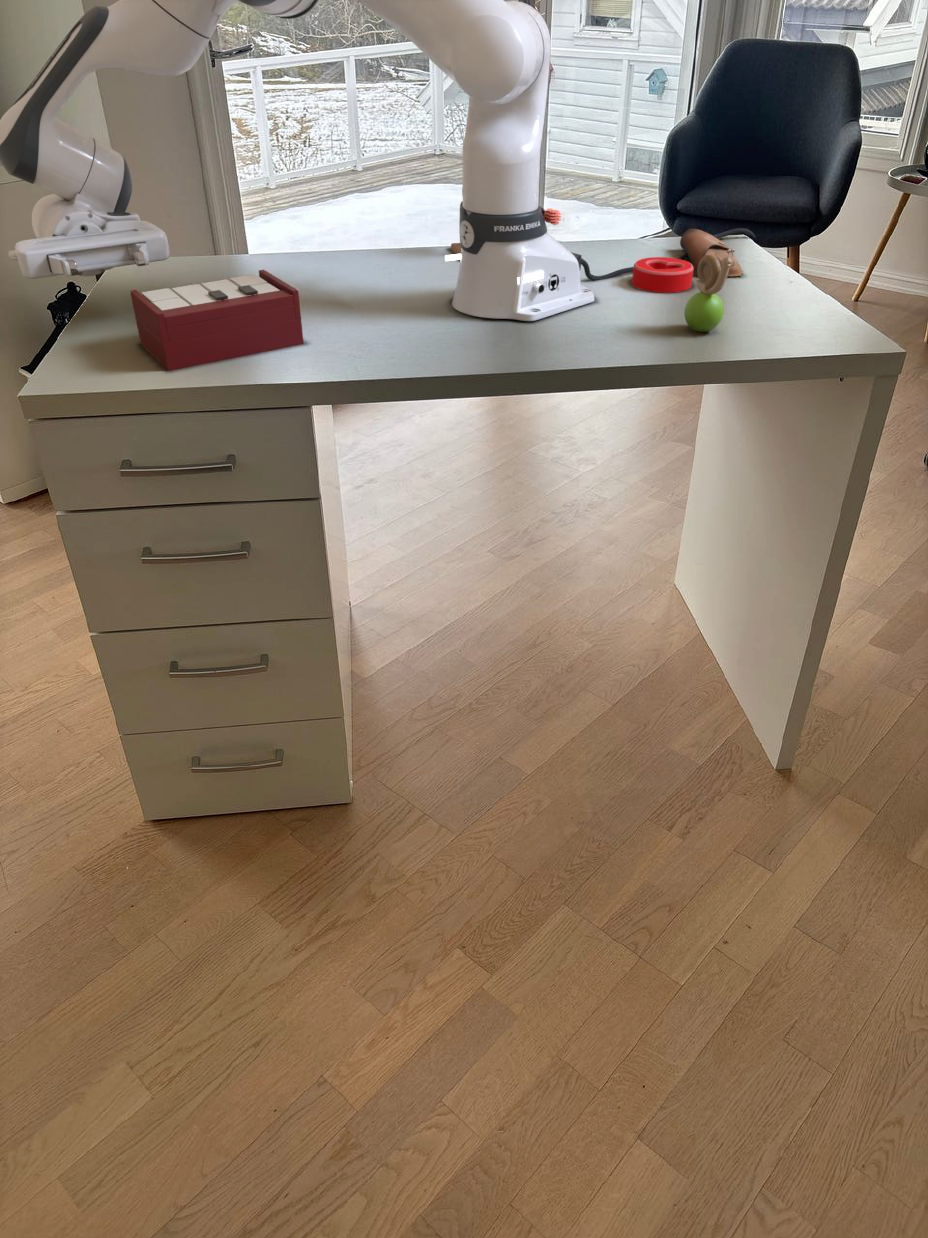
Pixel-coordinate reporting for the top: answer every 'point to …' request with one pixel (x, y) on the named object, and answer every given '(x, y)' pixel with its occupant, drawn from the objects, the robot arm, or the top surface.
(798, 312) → the top surface
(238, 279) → the c key
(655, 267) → the decorative ornament
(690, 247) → the sunglasses case
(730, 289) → the top surface
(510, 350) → the top surface
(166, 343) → the toy piano
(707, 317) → the snail figurine
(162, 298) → the f key
